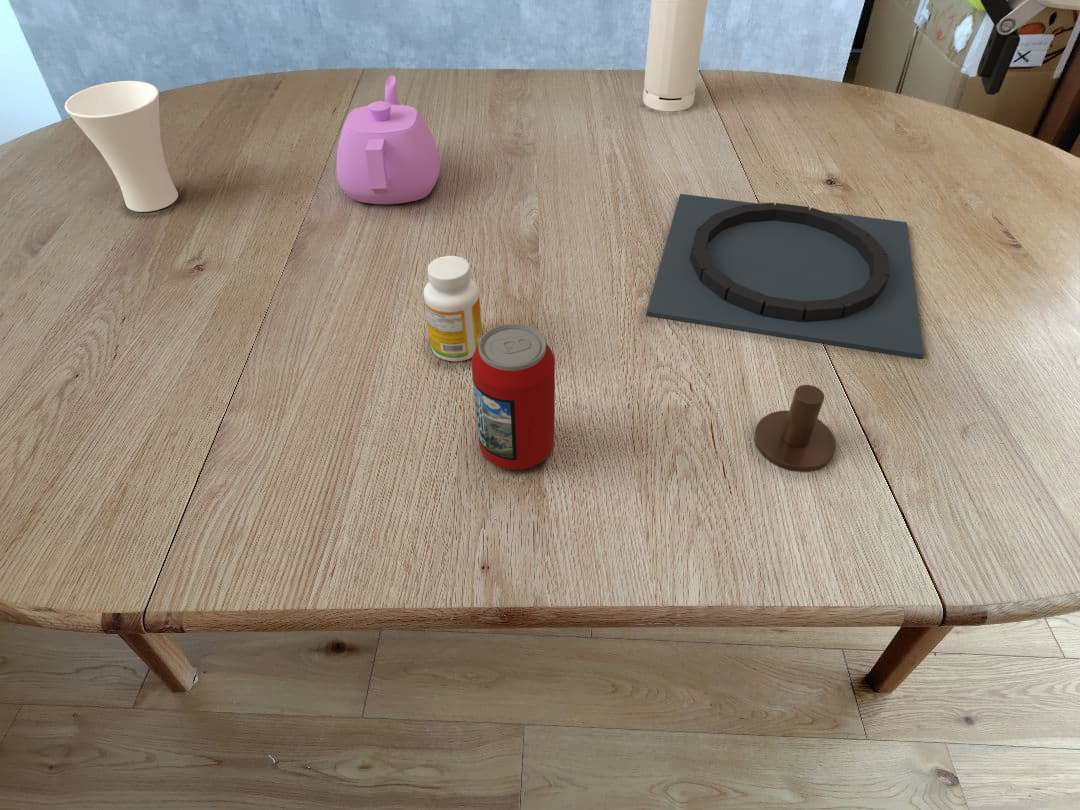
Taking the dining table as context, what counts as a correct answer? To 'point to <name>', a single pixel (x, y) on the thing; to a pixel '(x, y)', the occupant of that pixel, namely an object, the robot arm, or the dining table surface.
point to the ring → (781, 306)
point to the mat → (790, 278)
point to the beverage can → (514, 396)
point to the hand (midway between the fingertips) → (1061, 94)
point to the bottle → (673, 53)
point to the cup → (127, 139)
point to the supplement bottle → (452, 309)
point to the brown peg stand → (797, 434)
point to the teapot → (387, 152)
